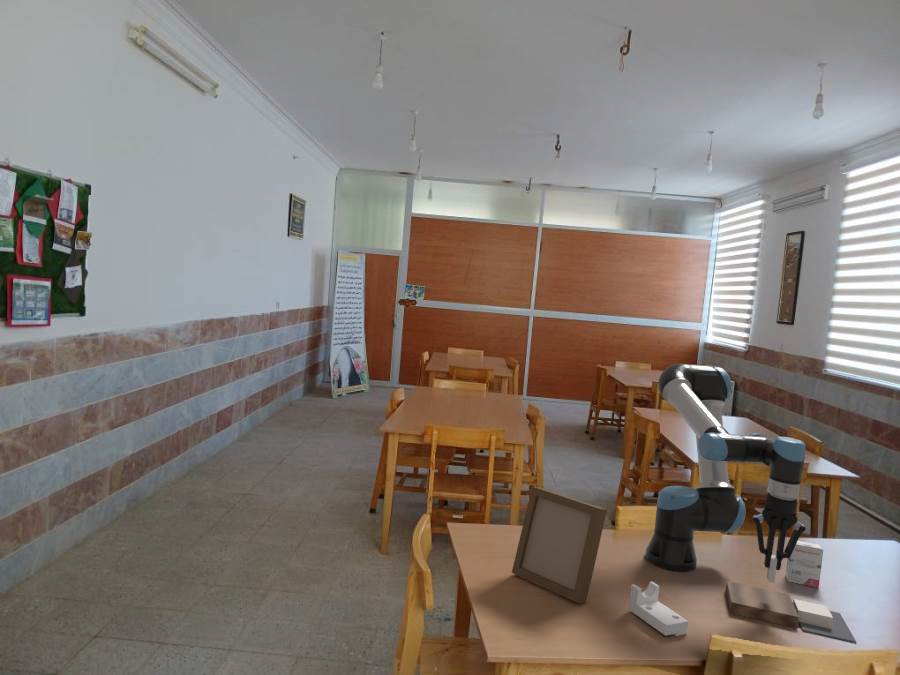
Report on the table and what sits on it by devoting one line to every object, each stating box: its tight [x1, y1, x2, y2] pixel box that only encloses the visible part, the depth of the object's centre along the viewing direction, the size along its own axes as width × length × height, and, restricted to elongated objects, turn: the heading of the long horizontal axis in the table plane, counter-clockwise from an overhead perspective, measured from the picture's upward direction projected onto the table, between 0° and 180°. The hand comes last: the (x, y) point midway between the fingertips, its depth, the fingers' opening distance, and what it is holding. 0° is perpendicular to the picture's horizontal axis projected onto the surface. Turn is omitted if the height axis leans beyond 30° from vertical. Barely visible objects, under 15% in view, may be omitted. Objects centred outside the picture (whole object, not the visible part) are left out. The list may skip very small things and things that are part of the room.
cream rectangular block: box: [792, 598, 833, 629], centre depth 169 cm, size 8×7×3 cm
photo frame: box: [511, 486, 608, 604], centre depth 177 cm, size 15×22×25 cm
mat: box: [798, 610, 857, 644], centre depth 168 cm, size 12×16×1 cm
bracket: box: [628, 581, 689, 637], centre depth 160 cm, size 13×7×8 cm, turn 25°
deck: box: [725, 580, 799, 629], centre depth 173 cm, size 16×14×3 cm
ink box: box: [784, 540, 824, 589], centre depth 193 cm, size 9×5×12 cm, turn 71°
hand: (770, 579), depth 172 cm, fingers closed
